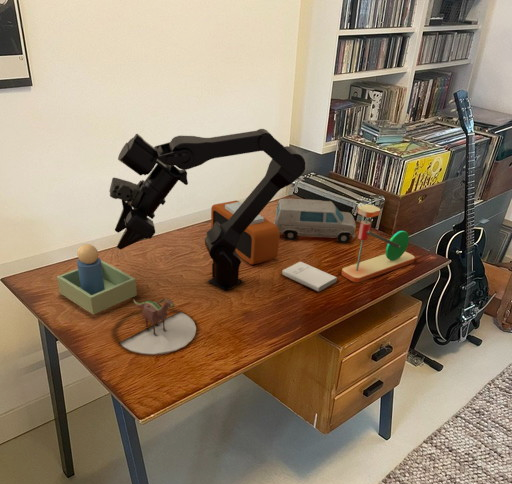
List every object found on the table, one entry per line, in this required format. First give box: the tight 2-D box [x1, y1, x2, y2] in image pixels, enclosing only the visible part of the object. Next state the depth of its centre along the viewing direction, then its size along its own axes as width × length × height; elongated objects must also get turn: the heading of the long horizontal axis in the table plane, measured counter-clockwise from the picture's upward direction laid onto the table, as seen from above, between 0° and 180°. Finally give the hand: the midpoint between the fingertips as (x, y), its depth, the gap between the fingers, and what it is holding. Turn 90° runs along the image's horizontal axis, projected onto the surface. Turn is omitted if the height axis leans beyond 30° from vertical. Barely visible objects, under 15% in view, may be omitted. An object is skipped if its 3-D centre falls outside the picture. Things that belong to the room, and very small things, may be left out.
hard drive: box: [281, 261, 338, 293], centre depth 142 cm, size 2×8×12 cm
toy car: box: [273, 198, 357, 244], centre depth 162 cm, size 11×25×10 cm, turn 89°
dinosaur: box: [118, 298, 197, 356], centre depth 115 cm, size 18×18×11 cm
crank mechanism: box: [340, 204, 416, 283], centre depth 144 cm, size 25×7×19 cm, turn 126°
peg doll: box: [76, 243, 105, 295], centre depth 124 cm, size 5×5×13 cm
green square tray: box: [56, 259, 138, 315], centre depth 127 cm, size 14×13×6 cm
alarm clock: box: [210, 200, 281, 266], centre depth 152 cm, size 24×8×11 cm, turn 33°
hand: (117, 239), depth 123 cm, fingers open, 9 cm apart
